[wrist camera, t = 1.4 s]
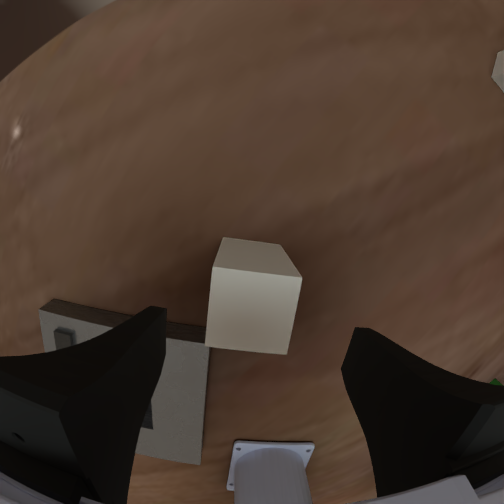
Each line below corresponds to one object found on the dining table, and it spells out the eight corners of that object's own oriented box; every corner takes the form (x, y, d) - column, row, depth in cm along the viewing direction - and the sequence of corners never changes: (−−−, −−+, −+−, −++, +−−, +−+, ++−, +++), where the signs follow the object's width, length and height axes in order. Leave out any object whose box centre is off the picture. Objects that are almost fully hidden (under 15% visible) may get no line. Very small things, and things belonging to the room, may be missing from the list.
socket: (202, 447, 25) (199, 468, 22) (74, 417, 24) (64, 434, 21) (212, 328, 22) (208, 347, 20) (53, 298, 22) (35, 311, 19)
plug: (271, 298, 22) (286, 354, 14) (216, 291, 22) (204, 346, 14) (280, 244, 21) (302, 277, 14) (223, 236, 21) (212, 266, 13)
